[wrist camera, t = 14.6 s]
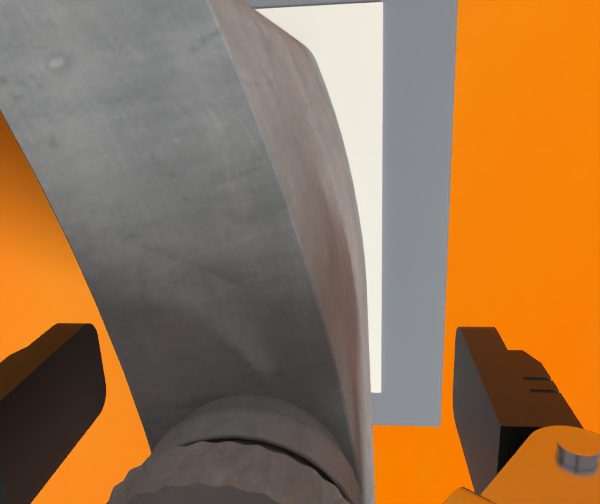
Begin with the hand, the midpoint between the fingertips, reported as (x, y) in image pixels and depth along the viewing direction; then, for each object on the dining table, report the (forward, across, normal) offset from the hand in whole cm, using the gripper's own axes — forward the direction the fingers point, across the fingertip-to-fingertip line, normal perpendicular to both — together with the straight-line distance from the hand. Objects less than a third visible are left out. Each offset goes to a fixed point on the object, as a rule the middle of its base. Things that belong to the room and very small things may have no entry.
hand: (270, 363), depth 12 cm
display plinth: (+17, 0, 0) cm, 17 cm away
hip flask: (+14, 0, 0) cm, 14 cm away
